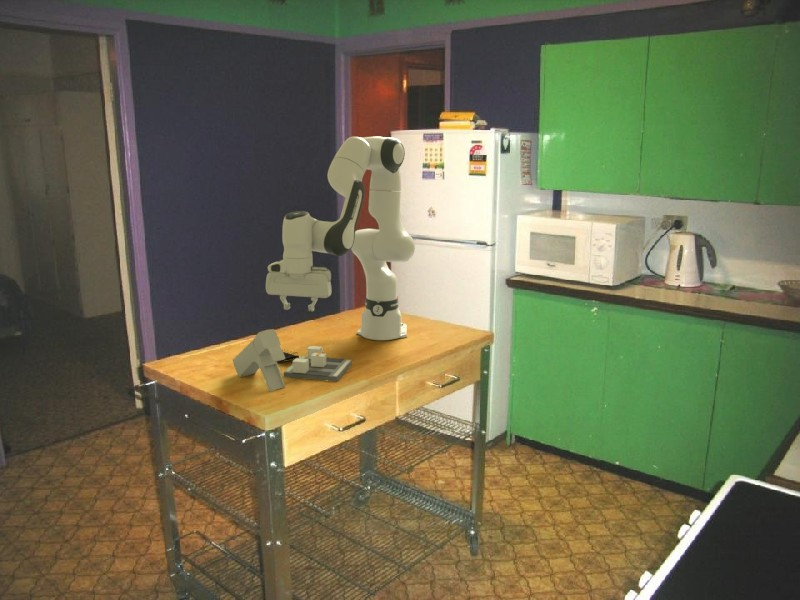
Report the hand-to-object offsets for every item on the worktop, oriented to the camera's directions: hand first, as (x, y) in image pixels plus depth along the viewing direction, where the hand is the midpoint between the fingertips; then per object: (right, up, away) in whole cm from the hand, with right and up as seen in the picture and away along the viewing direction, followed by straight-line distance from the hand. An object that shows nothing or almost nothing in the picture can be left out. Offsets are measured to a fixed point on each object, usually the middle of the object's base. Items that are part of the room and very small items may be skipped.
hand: (299, 309), depth 205 cm
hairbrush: (-11, -16, +18) cm, 26 cm away
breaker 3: (+6, -17, +3) cm, 18 cm away
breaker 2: (+4, -16, +10) cm, 19 cm away
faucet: (-11, -21, -6) cm, 25 cm away
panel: (+6, -19, +3) cm, 20 cm away
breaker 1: (+1, -19, -3) cm, 19 cm away
